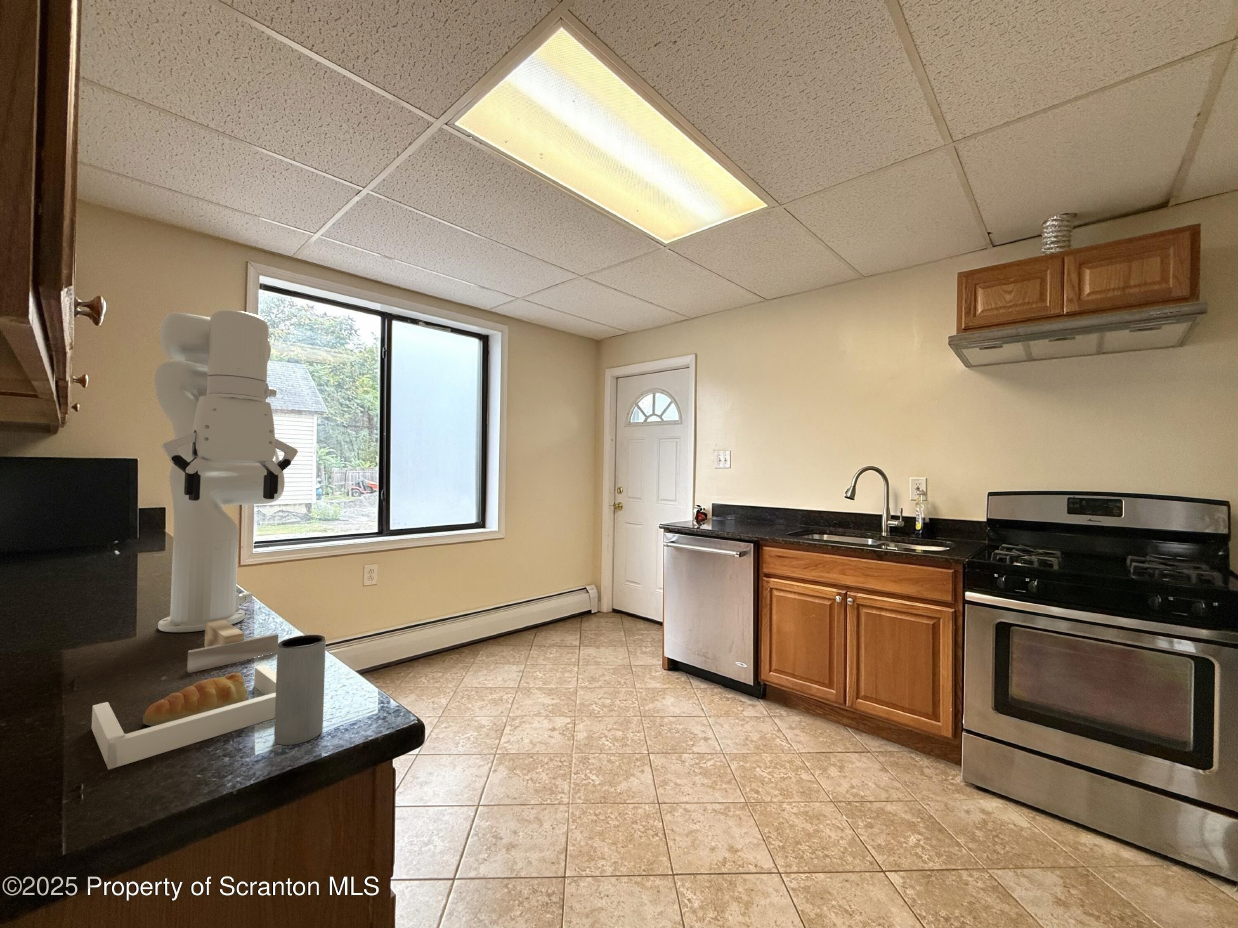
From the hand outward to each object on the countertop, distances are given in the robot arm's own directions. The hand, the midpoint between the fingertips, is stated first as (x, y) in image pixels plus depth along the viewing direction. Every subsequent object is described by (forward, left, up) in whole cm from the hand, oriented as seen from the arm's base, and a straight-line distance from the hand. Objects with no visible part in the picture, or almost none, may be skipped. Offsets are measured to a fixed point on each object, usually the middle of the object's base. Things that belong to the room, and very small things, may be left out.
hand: (233, 499), depth 80 cm
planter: (+23, +27, -24) cm, 43 cm away
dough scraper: (-1, -2, -24) cm, 24 cm away
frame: (+20, +13, -24) cm, 34 cm away
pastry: (+18, +12, -25) cm, 33 cm away
